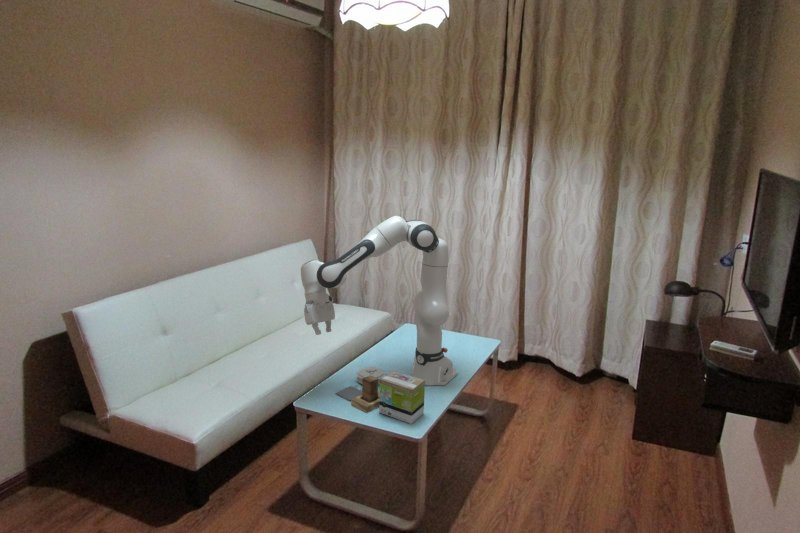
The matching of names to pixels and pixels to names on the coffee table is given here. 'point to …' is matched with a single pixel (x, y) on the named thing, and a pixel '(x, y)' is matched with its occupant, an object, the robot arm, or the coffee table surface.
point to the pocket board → (365, 403)
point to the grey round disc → (370, 373)
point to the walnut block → (370, 388)
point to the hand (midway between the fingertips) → (323, 333)
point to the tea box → (402, 396)
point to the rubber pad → (349, 393)
